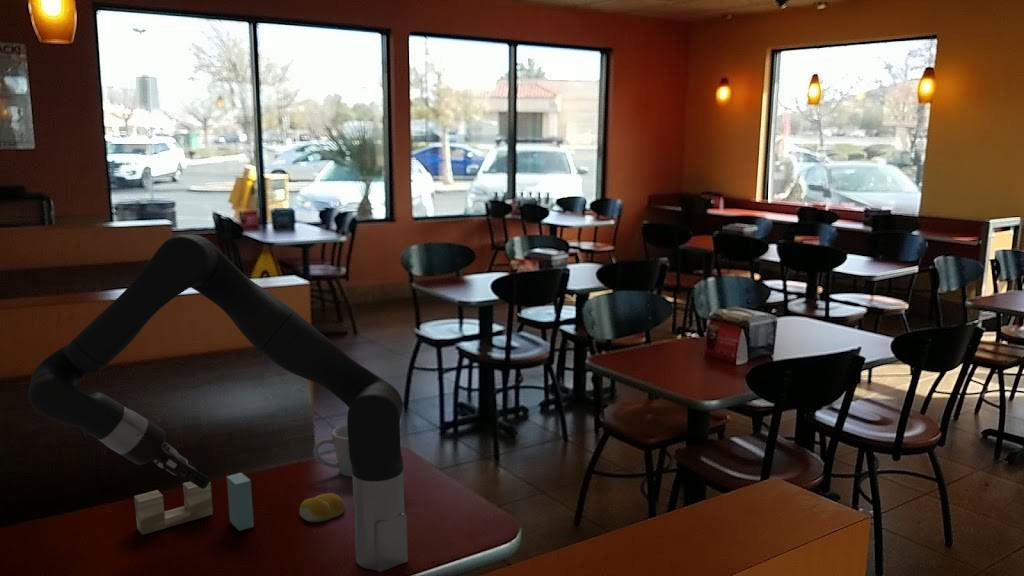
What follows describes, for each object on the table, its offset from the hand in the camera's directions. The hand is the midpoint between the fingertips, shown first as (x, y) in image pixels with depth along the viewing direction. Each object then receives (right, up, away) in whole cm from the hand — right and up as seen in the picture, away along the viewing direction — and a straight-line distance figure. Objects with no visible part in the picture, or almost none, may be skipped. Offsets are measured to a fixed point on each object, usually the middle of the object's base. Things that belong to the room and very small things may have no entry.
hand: (199, 477), depth 158 cm
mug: (+22, -7, +33) cm, 40 cm away
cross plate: (+6, -11, +7) cm, 15 cm away
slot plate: (-8, -11, +9) cm, 16 cm away
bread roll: (+21, -11, +12) cm, 27 cm away
